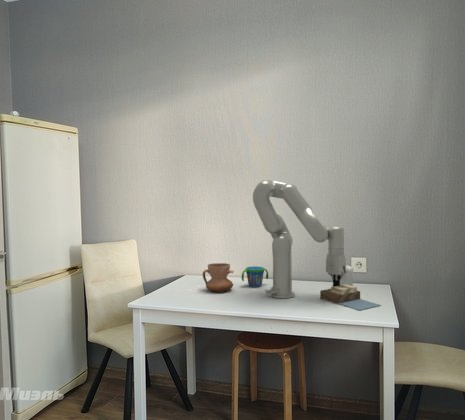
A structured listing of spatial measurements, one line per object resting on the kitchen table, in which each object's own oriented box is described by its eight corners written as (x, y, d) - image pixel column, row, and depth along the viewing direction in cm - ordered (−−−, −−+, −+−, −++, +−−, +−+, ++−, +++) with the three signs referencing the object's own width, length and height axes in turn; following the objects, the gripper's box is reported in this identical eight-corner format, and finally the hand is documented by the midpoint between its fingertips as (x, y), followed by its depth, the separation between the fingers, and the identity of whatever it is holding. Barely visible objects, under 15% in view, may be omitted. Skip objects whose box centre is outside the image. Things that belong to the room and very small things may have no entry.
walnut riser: (337, 304, 205) (337, 295, 204) (320, 298, 215) (320, 290, 215) (360, 299, 212) (360, 291, 212) (342, 294, 223) (342, 286, 222)
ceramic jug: (238, 288, 238) (238, 262, 237) (229, 294, 224) (228, 267, 224) (208, 286, 244) (208, 261, 244) (197, 292, 231) (196, 266, 230)
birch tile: (341, 294, 206) (341, 289, 206) (331, 291, 212) (331, 287, 212) (356, 291, 211) (356, 287, 211) (345, 289, 217) (345, 284, 217)
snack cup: (265, 282, 250) (265, 265, 249) (271, 287, 240) (271, 268, 239) (239, 284, 246) (239, 267, 246) (244, 289, 236) (244, 270, 236)
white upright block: (354, 287, 235) (354, 265, 235) (351, 289, 232) (351, 266, 231) (336, 285, 242) (336, 263, 241) (333, 286, 238) (333, 264, 237)
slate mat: (359, 310, 194) (359, 309, 194) (338, 304, 205) (338, 303, 205) (380, 305, 201) (380, 305, 201) (359, 299, 212) (359, 298, 212)
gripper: (320, 250, 219) (320, 285, 220) (341, 253, 206) (342, 291, 207) (330, 248, 223) (331, 283, 224) (353, 252, 210) (353, 289, 211)
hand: (336, 287), depth 216 cm, fingers closed
